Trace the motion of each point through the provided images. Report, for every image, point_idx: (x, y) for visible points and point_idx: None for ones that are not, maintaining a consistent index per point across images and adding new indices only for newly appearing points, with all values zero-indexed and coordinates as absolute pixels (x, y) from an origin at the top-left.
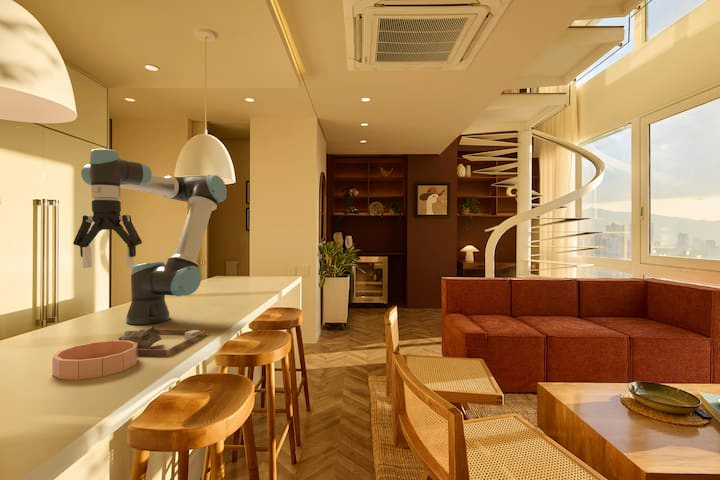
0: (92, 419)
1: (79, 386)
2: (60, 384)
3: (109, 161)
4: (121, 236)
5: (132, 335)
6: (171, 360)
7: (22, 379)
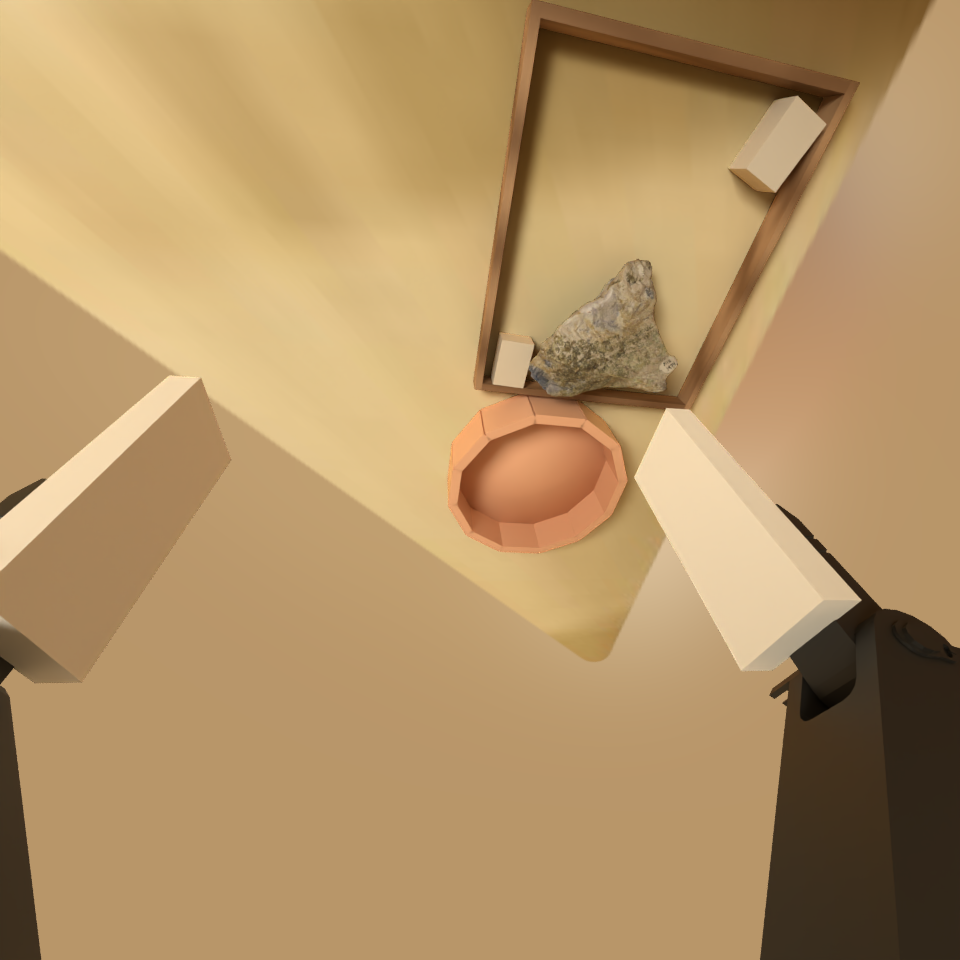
0: (618, 612)
1: None
2: None
3: None
4: (796, 890)
5: (585, 386)
6: None
7: (422, 524)
